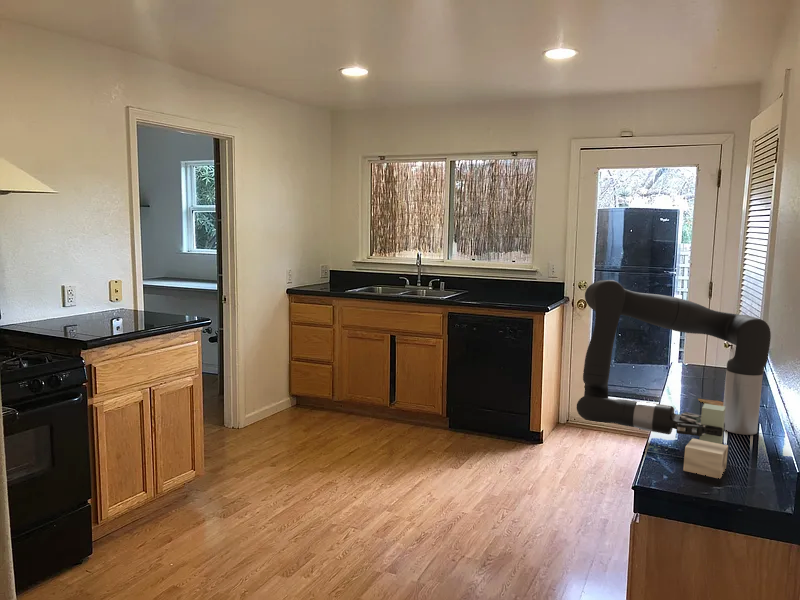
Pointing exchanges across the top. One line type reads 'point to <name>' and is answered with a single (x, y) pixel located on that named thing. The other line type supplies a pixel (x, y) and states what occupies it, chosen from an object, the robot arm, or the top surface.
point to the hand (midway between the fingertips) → (723, 429)
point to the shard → (711, 402)
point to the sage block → (712, 421)
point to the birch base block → (705, 458)
